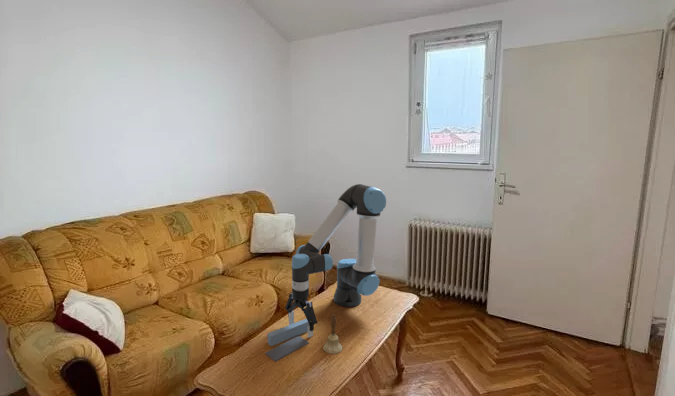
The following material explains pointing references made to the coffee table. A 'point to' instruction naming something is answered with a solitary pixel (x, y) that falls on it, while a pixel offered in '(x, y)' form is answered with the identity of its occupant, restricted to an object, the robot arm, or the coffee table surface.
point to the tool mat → (286, 348)
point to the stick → (287, 332)
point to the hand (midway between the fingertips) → (300, 330)
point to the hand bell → (333, 339)
